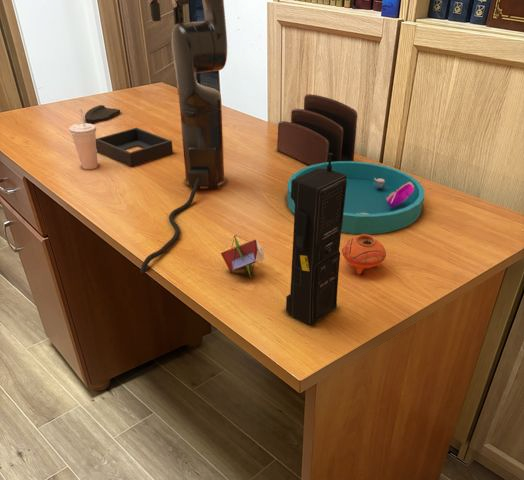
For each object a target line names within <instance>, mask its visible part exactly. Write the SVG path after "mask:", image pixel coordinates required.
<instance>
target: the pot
mask: <svg viewBox="0 0 524 480" xmlns="http://www.w3.org/2000/svg"><path fill="white" fill-rule="evenodd" d="M341 253H342V257H343V258H344V259H345V261H346V262H348V263H349V264H350V265H351V266H354V268H355V272H356V275H361V273H362V272H363V271H364V269H370V268H374V267H375V268H379V266H380V265H381V263H383V262H384V261H385V259H386V257H387V251H386V249H385V247H384V244H382V242H380V241H379V240H378V239H377V238H375V237H374V236H373V234H357V236H354V237H352V238H349V239H348V240H347V241H346V242H345V244H344V245H343V246H342V248H341Z"/></svg>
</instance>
